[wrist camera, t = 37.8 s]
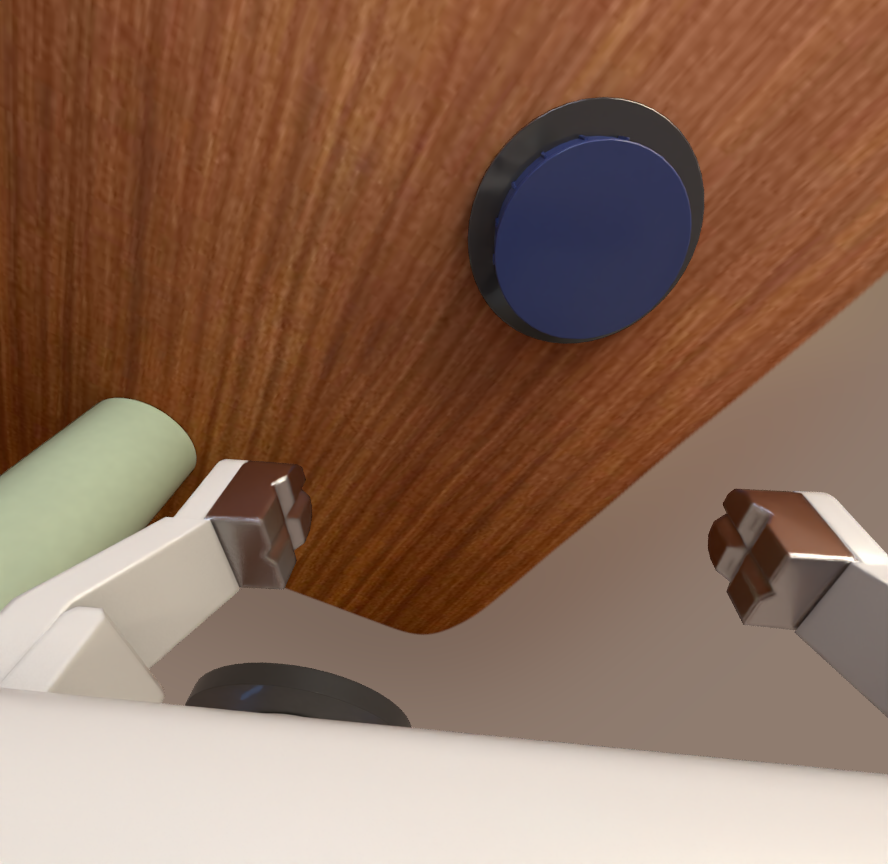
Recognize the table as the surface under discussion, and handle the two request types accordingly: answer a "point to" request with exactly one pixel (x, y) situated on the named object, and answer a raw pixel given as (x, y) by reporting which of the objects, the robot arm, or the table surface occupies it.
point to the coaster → (545, 135)
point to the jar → (87, 490)
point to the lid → (591, 236)
